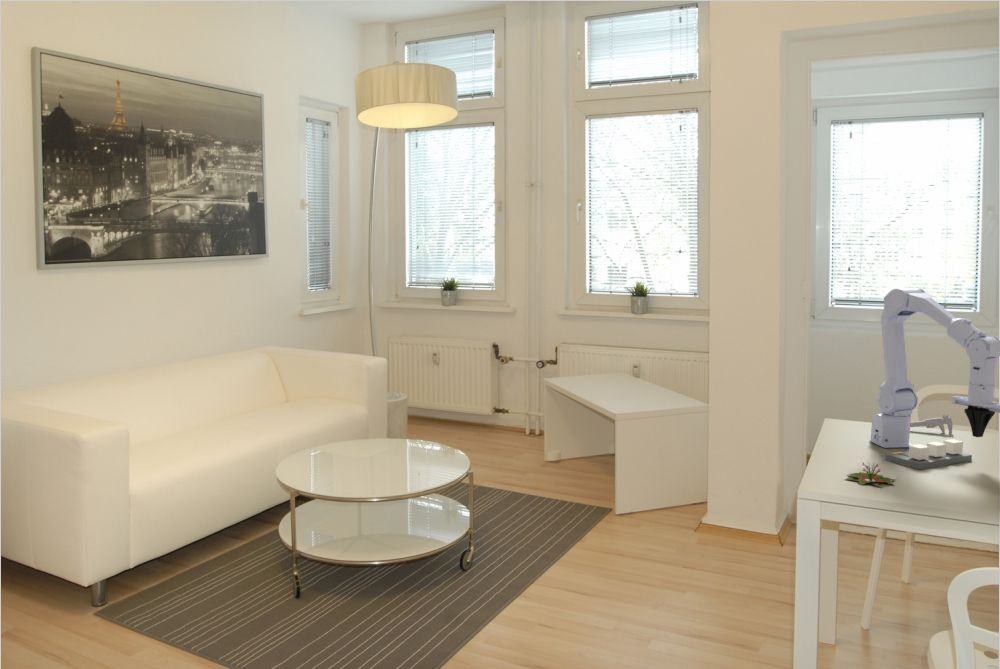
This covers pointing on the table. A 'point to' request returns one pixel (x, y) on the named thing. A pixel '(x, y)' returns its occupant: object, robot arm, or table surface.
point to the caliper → (935, 423)
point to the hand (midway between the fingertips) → (977, 436)
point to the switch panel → (927, 463)
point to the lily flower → (870, 477)
